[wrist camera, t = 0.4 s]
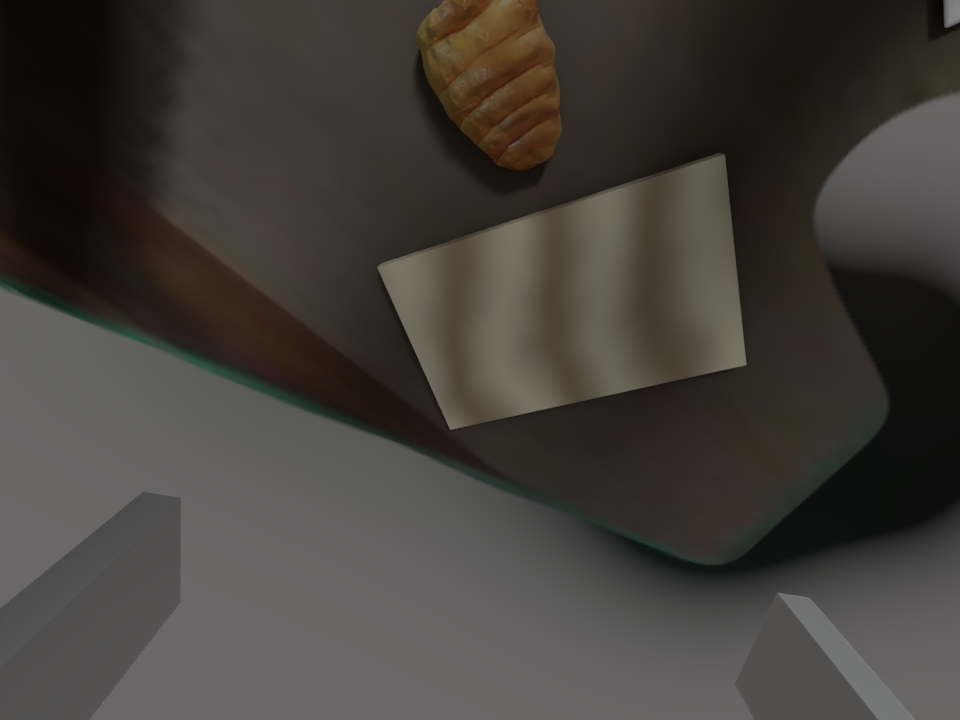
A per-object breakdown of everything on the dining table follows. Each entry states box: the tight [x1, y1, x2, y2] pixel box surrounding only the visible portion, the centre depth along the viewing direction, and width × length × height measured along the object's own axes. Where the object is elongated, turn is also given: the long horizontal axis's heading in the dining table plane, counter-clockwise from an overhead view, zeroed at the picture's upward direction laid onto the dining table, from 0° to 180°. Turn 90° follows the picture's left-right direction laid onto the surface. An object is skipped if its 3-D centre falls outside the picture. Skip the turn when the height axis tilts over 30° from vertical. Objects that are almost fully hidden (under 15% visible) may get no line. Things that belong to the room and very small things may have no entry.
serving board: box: [377, 153, 746, 430], centre depth 32 cm, size 22×14×1 cm, turn 109°
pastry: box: [416, 0, 562, 171], centre depth 25 cm, size 9×7×4 cm
